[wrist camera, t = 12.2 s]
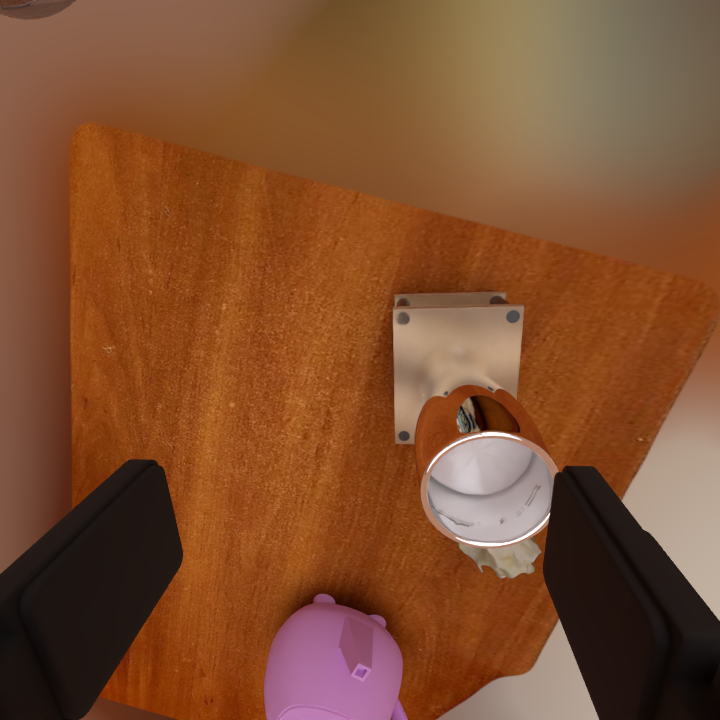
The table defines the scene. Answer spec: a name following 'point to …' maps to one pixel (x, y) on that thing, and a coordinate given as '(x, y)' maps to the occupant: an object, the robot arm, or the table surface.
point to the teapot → (333, 666)
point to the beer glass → (478, 454)
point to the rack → (451, 342)
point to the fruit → (505, 558)
